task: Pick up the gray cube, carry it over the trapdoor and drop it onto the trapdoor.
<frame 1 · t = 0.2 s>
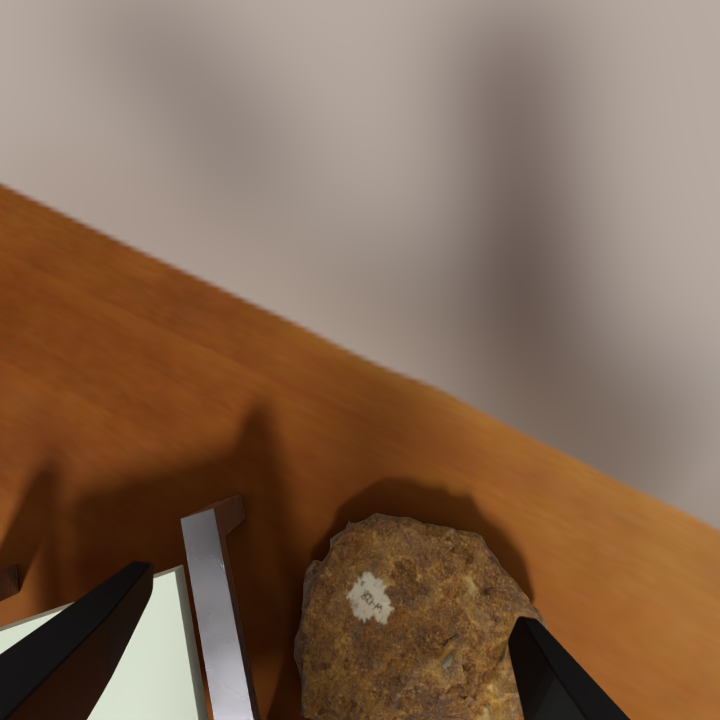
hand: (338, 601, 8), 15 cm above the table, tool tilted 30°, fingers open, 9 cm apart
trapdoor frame: (139, 663, 19), on the table
decorative rock: (416, 608, 22), on the table
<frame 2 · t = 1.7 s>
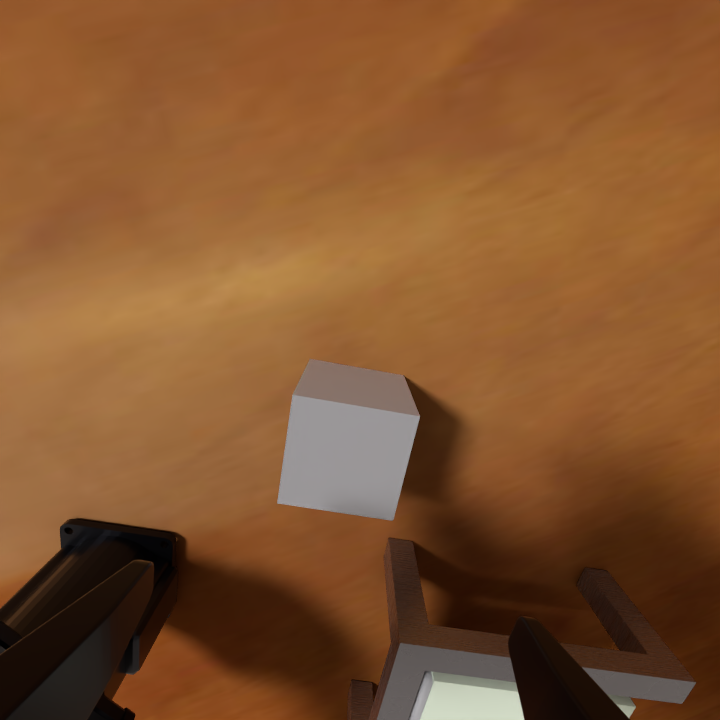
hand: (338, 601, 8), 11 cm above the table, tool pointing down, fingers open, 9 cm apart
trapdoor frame: (468, 636, 23), on the table
gray cube: (348, 409, 19), on the table
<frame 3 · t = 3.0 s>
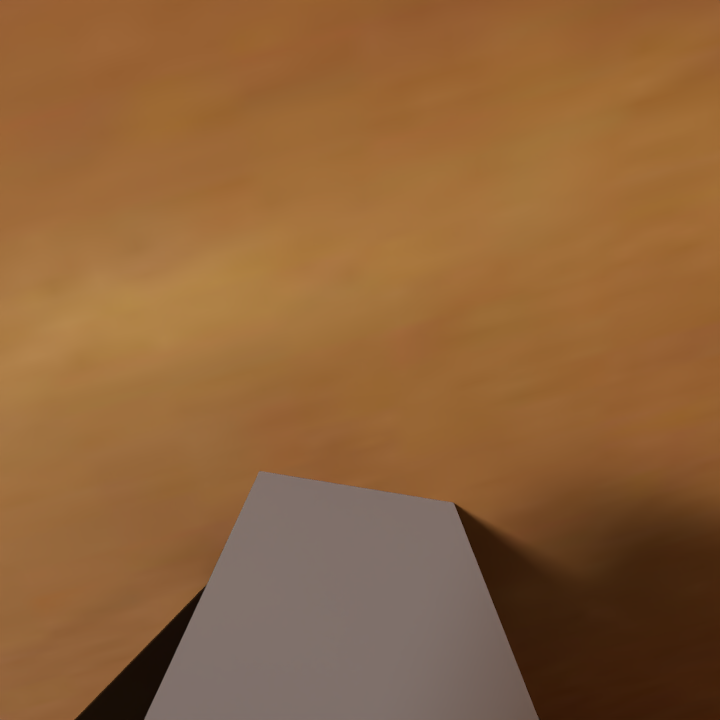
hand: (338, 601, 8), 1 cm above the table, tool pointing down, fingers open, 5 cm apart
gray cube: (340, 563, 9), on the table
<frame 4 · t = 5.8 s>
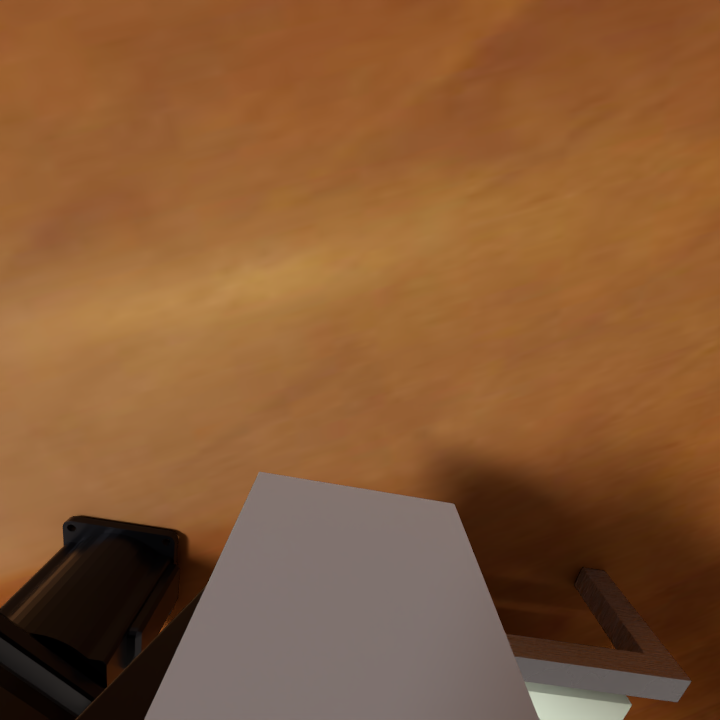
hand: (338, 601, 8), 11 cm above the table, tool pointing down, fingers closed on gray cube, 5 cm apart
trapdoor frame: (467, 635, 24), on the table
gray cube: (340, 565, 9), point 10 cm above the table, touching gripper
when the fingers open (9 cm above the table, at t = 8.6 s): gray cube drops 6 cm and tips over, resting on trapdoor.
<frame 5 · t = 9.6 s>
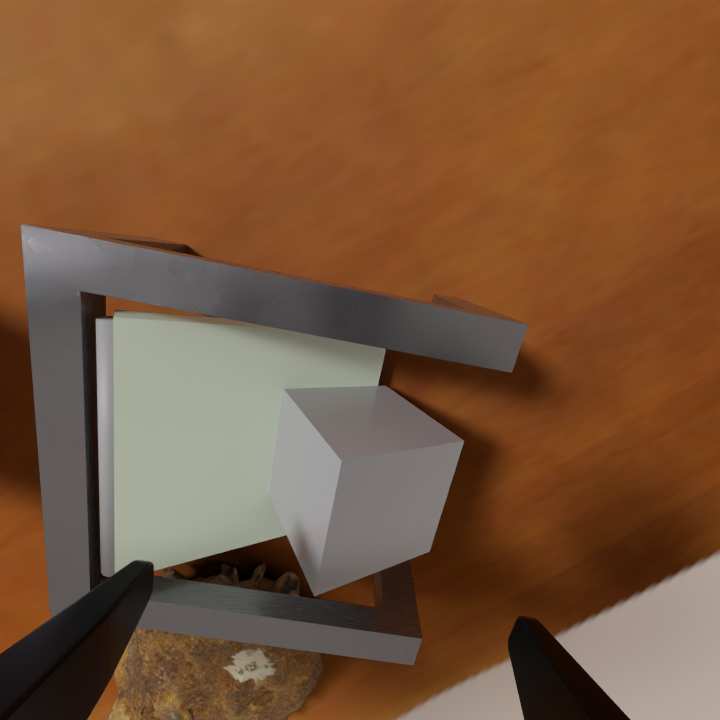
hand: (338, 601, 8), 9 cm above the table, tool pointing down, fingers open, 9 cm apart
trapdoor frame: (291, 413, 17), on the table
gray cube: (329, 437, 16), point 2 cm above the table, tilted 30°, touching trapdoor
decorative rock: (223, 635, 22), on the table
trapdoor: (255, 441, 14), point 3 cm above the table, hinge at -30.5°, touching gray cube
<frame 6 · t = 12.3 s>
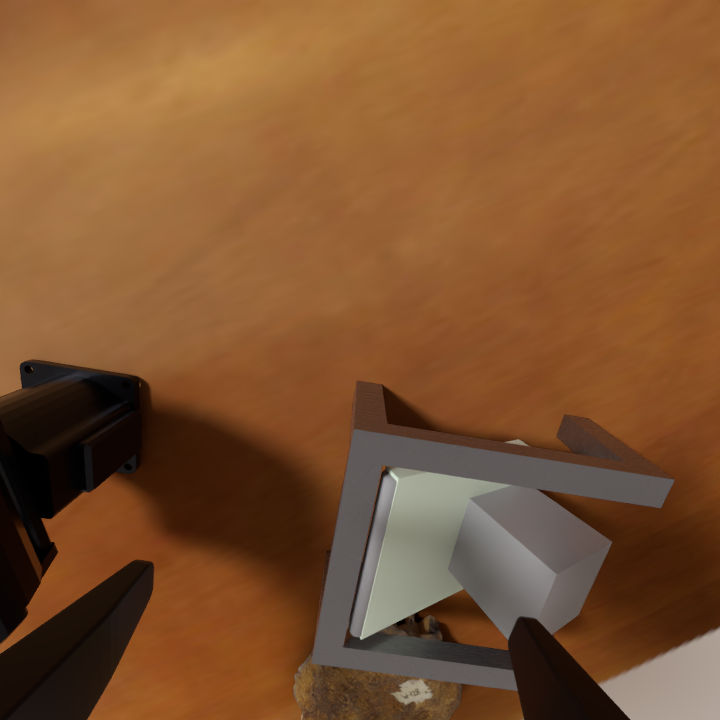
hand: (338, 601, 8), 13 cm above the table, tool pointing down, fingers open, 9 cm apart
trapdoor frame: (446, 498, 22), on the table
gray cube: (487, 523, 21), point 2 cm above the table, tilted 31°, touching trapdoor
decorative rock: (370, 664, 28), on the table
trapdoor: (443, 532, 20), point 3 cm above the table, hinge at -30.5°, touching gray cube
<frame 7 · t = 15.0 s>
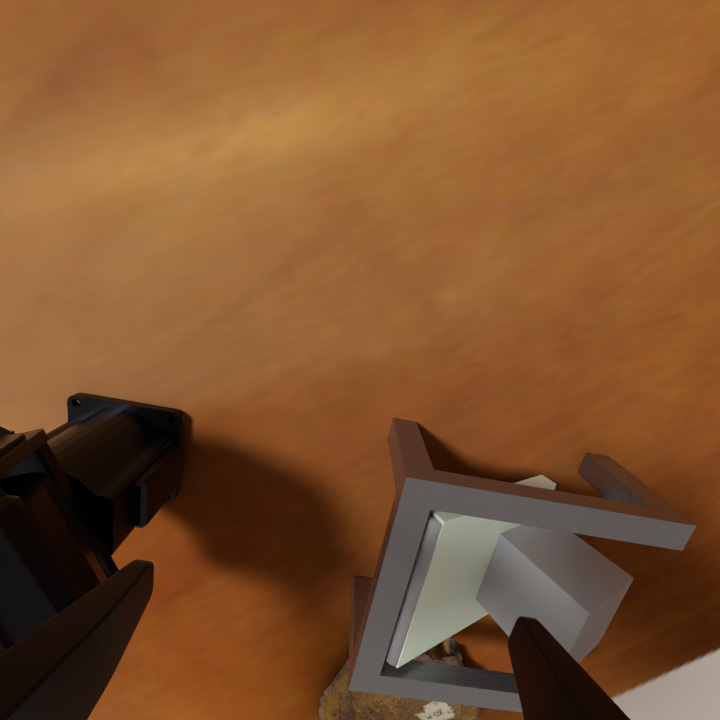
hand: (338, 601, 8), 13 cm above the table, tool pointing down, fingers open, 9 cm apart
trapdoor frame: (471, 528, 24), on the table
gray cube: (512, 554, 22), point 2 cm above the table, tilted 31°, touching trapdoor
decorative rock: (391, 684, 29), on the table
trapdoor: (473, 564, 21), point 3 cm above the table, hinge at -30.5°, touching gray cube
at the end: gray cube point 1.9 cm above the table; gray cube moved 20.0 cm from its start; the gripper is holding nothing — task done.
